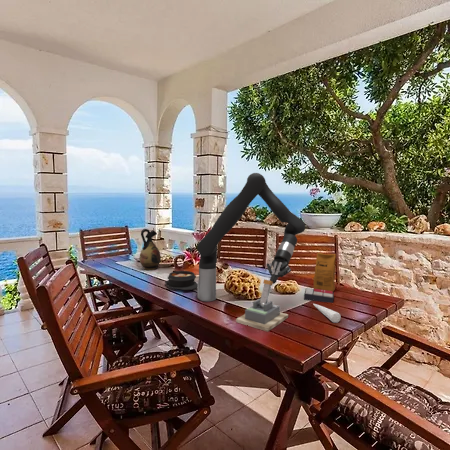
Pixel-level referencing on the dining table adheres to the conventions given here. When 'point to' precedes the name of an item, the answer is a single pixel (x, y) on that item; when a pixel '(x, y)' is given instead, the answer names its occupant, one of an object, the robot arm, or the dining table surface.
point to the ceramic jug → (149, 252)
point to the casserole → (181, 280)
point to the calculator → (319, 295)
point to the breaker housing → (262, 312)
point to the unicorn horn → (329, 313)
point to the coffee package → (325, 272)
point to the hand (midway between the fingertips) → (272, 282)
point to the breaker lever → (265, 292)
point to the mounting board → (264, 327)
